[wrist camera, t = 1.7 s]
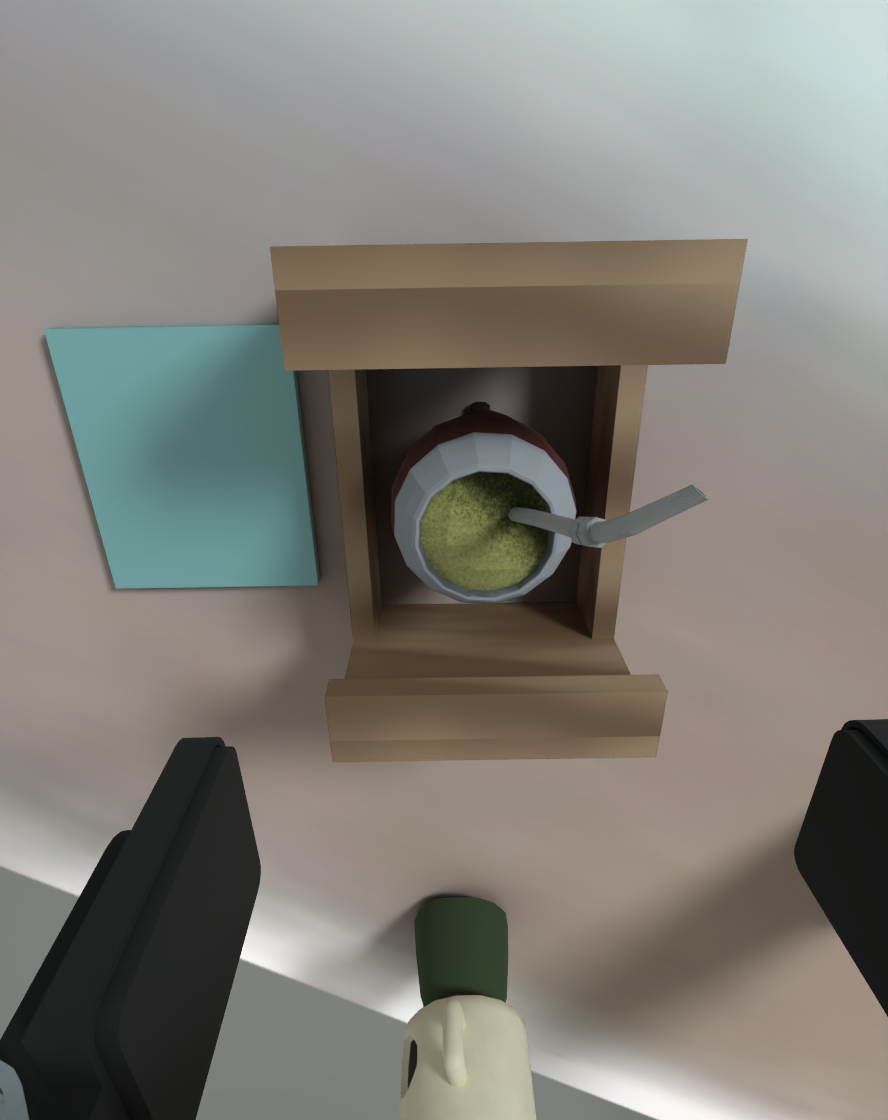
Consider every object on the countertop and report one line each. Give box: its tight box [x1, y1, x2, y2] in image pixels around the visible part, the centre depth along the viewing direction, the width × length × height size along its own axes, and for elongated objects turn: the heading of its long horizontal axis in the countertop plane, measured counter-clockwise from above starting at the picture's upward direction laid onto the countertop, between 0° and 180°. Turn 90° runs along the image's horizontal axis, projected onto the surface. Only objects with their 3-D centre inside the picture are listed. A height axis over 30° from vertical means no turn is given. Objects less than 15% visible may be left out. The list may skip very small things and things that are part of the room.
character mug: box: [399, 897, 536, 1120], centre depth 36 cm, size 11×7×13 cm, turn 9°
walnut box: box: [270, 239, 748, 762], centre depth 23 cm, size 17×12×10 cm
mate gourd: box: [391, 402, 708, 604], centre depth 21 cm, size 8×8×15 cm
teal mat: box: [44, 325, 320, 589], centre depth 28 cm, size 12×10×1 cm
